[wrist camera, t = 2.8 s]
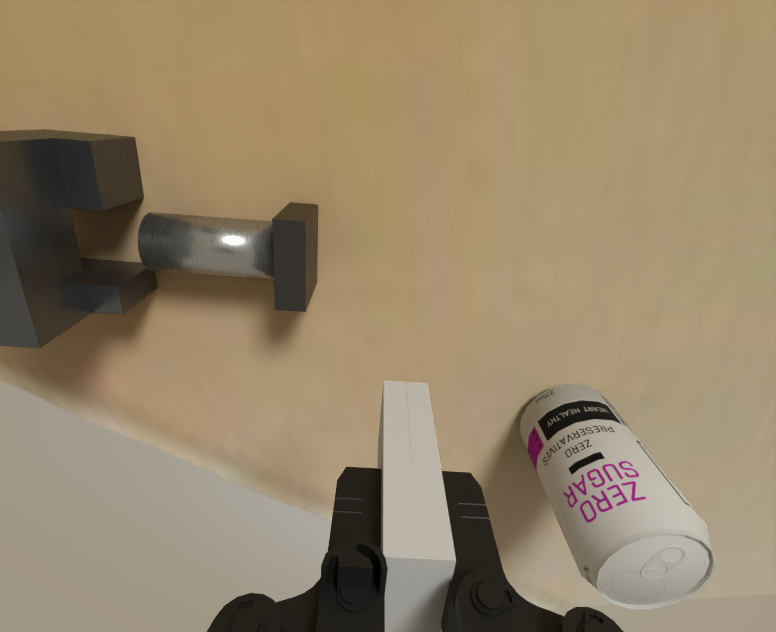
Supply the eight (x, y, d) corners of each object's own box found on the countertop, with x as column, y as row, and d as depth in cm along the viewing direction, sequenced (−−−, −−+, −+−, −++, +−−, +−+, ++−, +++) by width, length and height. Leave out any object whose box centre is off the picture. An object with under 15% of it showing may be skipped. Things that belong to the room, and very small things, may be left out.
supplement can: (572, 462, 42) (663, 628, 28) (500, 433, 41) (559, 594, 27) (626, 400, 39) (756, 552, 25) (550, 366, 38) (646, 508, 24)
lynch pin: (162, 192, 31) (119, 207, 26) (318, 204, 31) (305, 221, 26) (173, 272, 33) (136, 300, 28) (316, 282, 34) (305, 311, 29)
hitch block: (43, 129, 29) (-109, 135, 20) (134, 137, 30) (24, 146, 20) (79, 282, 34) (-33, 343, 25) (157, 288, 34) (75, 350, 25)
